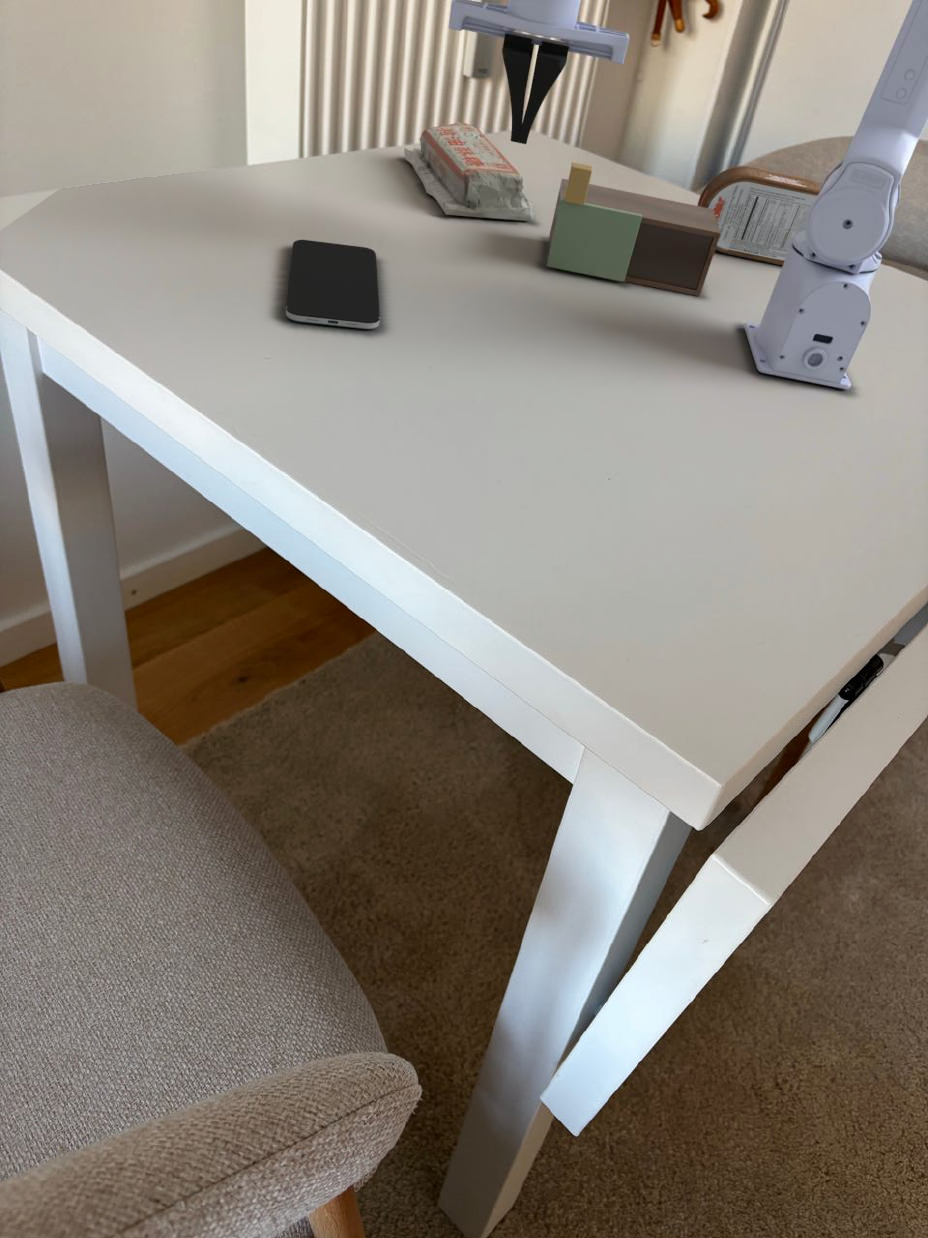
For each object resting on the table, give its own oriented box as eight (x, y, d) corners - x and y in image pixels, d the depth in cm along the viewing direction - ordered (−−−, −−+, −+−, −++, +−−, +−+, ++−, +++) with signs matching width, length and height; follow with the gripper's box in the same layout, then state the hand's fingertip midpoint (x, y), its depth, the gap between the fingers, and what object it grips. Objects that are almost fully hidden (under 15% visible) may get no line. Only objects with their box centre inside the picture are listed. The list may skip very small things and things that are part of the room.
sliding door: (624, 283, 88) (652, 182, 82) (546, 268, 88) (568, 165, 82) (623, 278, 89) (651, 177, 83) (546, 262, 89) (568, 161, 83)
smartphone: (284, 312, 71) (292, 237, 81) (284, 321, 71) (292, 245, 82) (381, 323, 72) (376, 248, 83) (380, 331, 72) (375, 255, 83)
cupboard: (699, 296, 89) (720, 232, 85) (546, 265, 89) (560, 200, 85) (693, 269, 94) (713, 208, 90) (548, 240, 94) (561, 178, 90)
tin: (820, 266, 102) (853, 185, 96) (825, 276, 99) (860, 194, 94) (685, 238, 101) (711, 156, 96) (688, 249, 99) (714, 165, 93)
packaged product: (545, 175, 94) (451, 167, 91) (535, 224, 97) (443, 218, 94) (491, 120, 106) (407, 112, 103) (484, 165, 109) (402, 158, 106)
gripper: (642, -36, 76) (599, 144, 84) (466, -73, 75) (442, 111, 84) (646, -25, 70) (600, 166, 79) (457, -65, 70) (432, 131, 79)
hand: (518, 139), depth 81 cm, fingers closed
